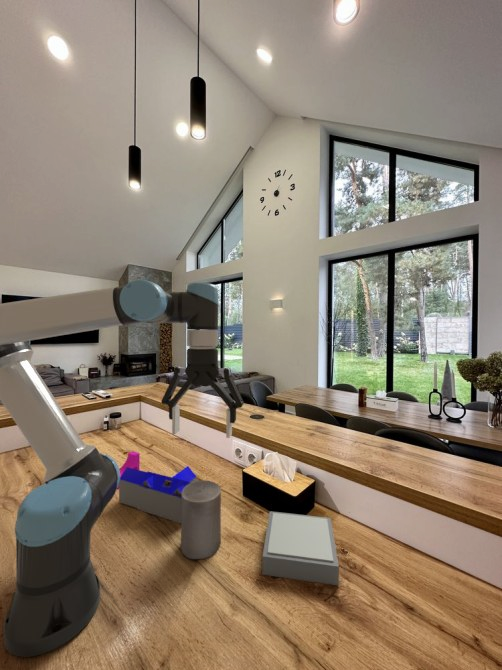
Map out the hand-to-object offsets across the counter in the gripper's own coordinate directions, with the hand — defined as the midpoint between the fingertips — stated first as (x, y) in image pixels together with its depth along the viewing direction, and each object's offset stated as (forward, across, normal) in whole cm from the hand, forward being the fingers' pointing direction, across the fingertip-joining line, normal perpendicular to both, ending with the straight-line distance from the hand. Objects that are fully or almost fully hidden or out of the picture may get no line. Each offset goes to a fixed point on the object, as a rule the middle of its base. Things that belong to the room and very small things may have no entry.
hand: (202, 434), depth 71 cm
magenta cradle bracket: (+28, +38, -24) cm, 53 cm away
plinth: (+28, -24, -2) cm, 36 cm away
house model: (+28, +17, -17) cm, 37 cm away
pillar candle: (+28, 0, 0) cm, 28 cm away
